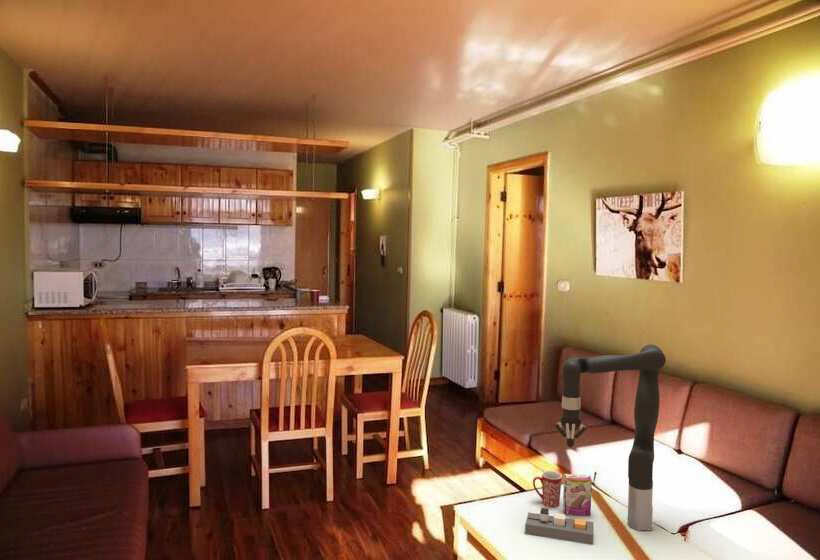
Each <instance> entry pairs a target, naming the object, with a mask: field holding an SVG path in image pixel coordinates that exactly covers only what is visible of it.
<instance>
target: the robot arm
mask: <svg viewBox="0 0 820 560" xmlns="http://www.w3.org/2000/svg"><path fill="white" fill-rule="evenodd" d="M666 361H667V359H666V356H665V354H664V352H663V350H662V349H661V348H660V347H659V346H657V345H655V344H646V345H644V346H643V347H642V348H641V349H640V351H639V352H636V353H633V354H632V353H631V354H619V355H618V354H605V355H604V354H603V355H602V354H601V355H596V356H588V357H587V356H586V357H585V356H584V357H583V356H582V357H581V356H579V357H578V356H577V357H575V356H574V357H569V358H567V359H566V360H564V362H563V365H562V379H563V384H562V398H561V418H560V421H558V422H556V423H555V428H556V429H557V430H558V432H559V433H560V434H561V436H562V437H563V438H566V446H567V447H568V448H573V447H574V446H575V439H578V438H579V437H580V436H582V434H583V433H584V432H585V431H586V429H587V426H586V425H584V424H583V423H582V420H581V405H582V404H581V384H580V382H581V374H583V373H585V374H587V373H588V374H591V375H596V374H602V373H603V374H604V373H611V372H613V373H614V372H623V371H639V375H638V383H637V387H636V393H635V400H634V408H633V409H634V410H633V418H634V419H633V420H634V427H635V428H634V429H635V430H634V438H633V439H634V440H633V442H632V443H633V444H632V447H631V450H630V453H629V455H628V461H627V464H628V465H627V466H628V467H627V470H628V472H627V477H628V489H627V490H628V491H627V492H628V493H627V494H628V495H627V497H628V498H627V499H628V500H627V525H628V526H629V527H630V528H631V527H632V528H631V529H633V528H634V529H633V530H637V531H640V530H641V531H642V530H647V531H649V530H648V529H652V530H653V515H654V514H653V510H654V509H653V508H654V507H653V497H654V496H653V491H654V489H653V488H654V481H653V479H654V478H653V473H654V471H653V468H654V461H655V432H656V429H657V424H658V420H659V412H660V405H661V404H660V402H661V401H660V398H661V397H660V387H659V376H660V370H661V369H662V368H664V366H665V364H666ZM564 429H565V430H564ZM578 429H579V430H578ZM577 430H578V431H577ZM575 431H577V432H576V433H575ZM642 532H643V531H642Z"/></svg>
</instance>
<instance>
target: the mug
mask: <svg viewBox="0 0 820 560" xmlns="http://www.w3.org/2000/svg"><path fill="white" fill-rule="evenodd" d="M562 478H563V475H562V473H560V472H558V471H555V470H544V471H542V472H541V477H540V476H535V477H534V478H533V480H532V486H533V488H534V490H535V492H536V493H537V494H538V496H539V497H540V499H541V500H542V504H543V506H546V507H548V508H557V507H559V506H560V501H561V491H562V490H561V488H562ZM536 480H539V481H540V483H541V484H542V485H541V487H542V488H541V489H542V494H541V492H540V491H539V489H538V488H537V486H536Z"/></svg>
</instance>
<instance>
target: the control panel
mask: <svg viewBox="0 0 820 560" xmlns="http://www.w3.org/2000/svg"><path fill="white" fill-rule="evenodd" d="M575 519H576V518H575ZM575 519H574V518H568V517H565V527H563V526H557V525H554V515H549V518H548V522H544V521H540V513H535V512H528V513H527V516H526V520H525V524H524V525H525V527H524V534H525V535H526V534H527V535H533V536H538V537H545V538H552V539H555V540H556V539H558V540H564V541H568V542H576V543H582V544H587V545H588V544H590V545H594V544H593V543H594V522H593V521H588V520H586V530H581V529H574V524H575Z"/></svg>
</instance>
